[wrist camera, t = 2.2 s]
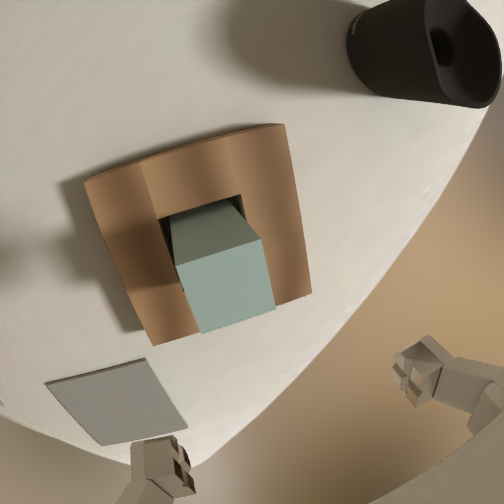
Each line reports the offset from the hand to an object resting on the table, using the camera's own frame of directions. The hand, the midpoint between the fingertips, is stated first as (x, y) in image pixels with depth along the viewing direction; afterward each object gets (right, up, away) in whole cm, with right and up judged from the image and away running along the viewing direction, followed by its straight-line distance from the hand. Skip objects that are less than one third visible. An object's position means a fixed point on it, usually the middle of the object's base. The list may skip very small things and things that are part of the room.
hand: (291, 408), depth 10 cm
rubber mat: (-16, -12, +20) cm, 28 cm away
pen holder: (+10, +23, +13) cm, 28 cm away
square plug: (-5, +7, +15) cm, 17 cm away
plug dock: (-5, +7, +15) cm, 17 cm away
